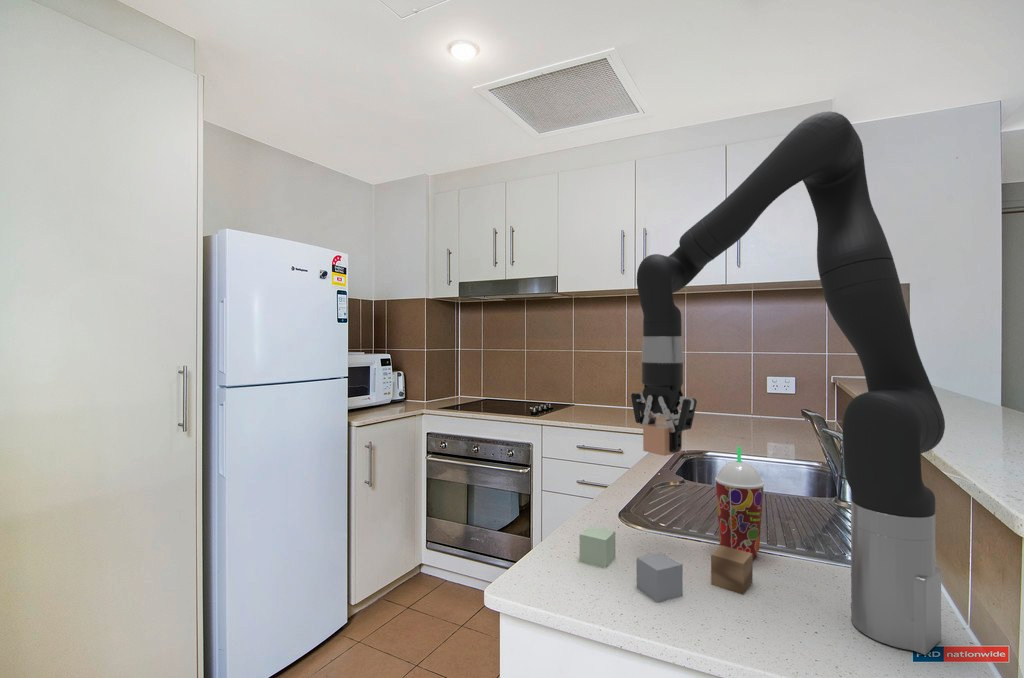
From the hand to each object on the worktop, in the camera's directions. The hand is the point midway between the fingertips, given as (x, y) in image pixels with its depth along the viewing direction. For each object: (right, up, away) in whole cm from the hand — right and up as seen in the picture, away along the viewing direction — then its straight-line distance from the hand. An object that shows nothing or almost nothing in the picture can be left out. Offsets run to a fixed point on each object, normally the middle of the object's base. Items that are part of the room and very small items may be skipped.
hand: (662, 448), depth 94 cm
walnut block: (+8, -19, -13) cm, 25 cm away
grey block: (-5, -19, -16) cm, 25 cm away
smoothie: (+14, -20, -1) cm, 24 cm away
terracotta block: (0, 0, 0) cm, 0 cm away
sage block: (-13, -19, -4) cm, 24 cm away
